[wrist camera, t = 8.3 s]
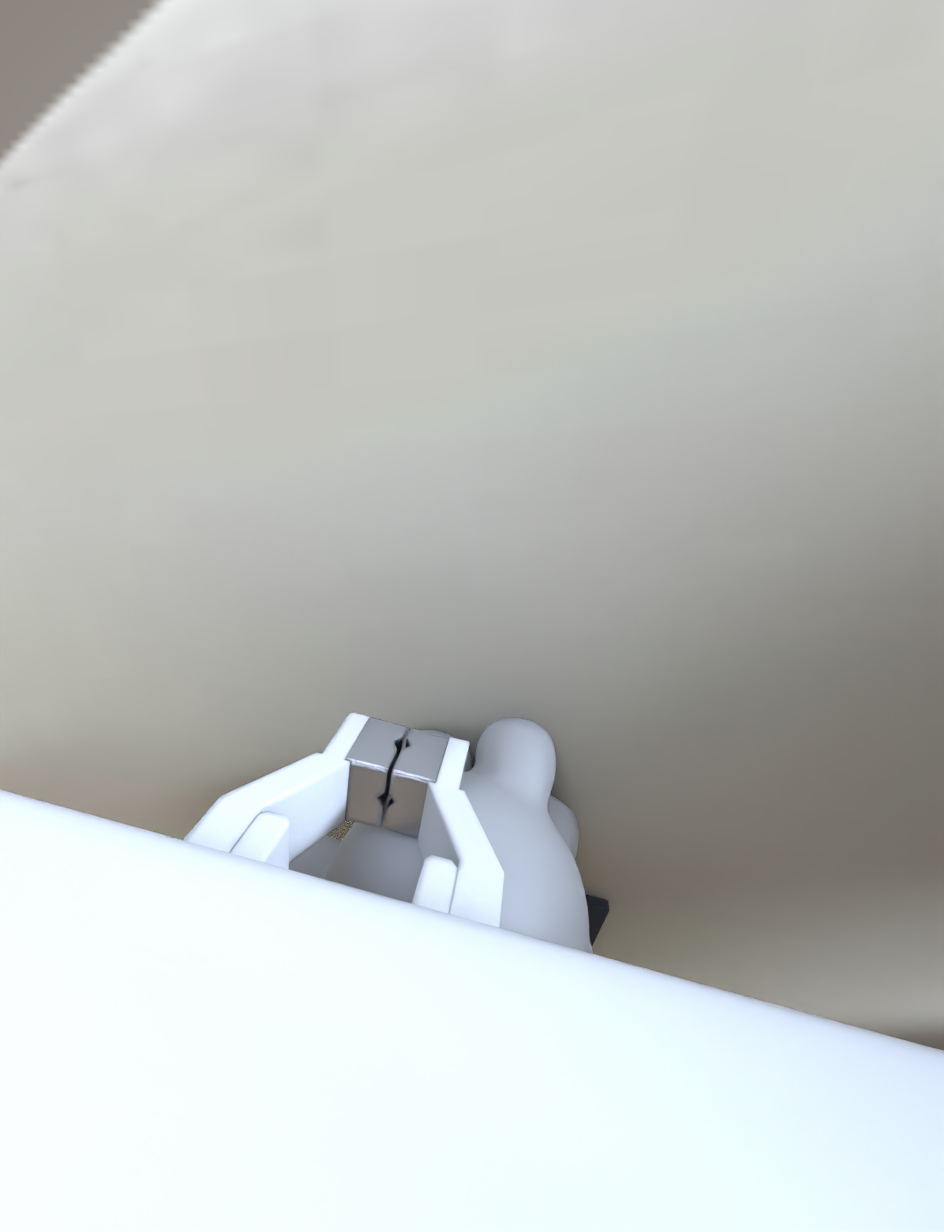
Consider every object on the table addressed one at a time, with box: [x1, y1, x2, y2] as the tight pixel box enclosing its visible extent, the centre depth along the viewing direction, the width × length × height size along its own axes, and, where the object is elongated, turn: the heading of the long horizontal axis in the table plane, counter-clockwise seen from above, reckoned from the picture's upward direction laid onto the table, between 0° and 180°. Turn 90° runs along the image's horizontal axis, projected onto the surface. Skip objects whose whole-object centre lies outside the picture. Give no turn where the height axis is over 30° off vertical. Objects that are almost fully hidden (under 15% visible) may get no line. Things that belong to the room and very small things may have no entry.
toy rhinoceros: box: [289, 718, 594, 954], centre depth 13 cm, size 7×12×8 cm, turn 104°
